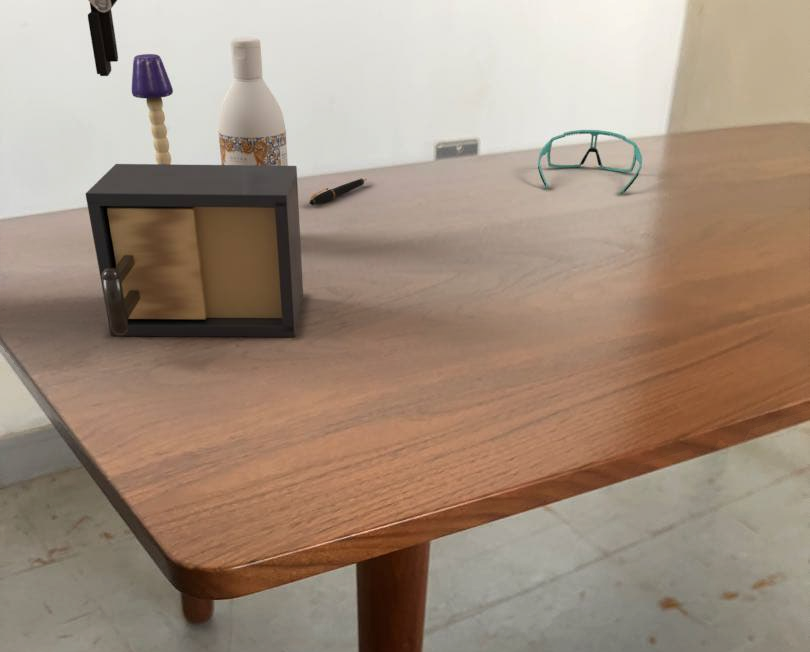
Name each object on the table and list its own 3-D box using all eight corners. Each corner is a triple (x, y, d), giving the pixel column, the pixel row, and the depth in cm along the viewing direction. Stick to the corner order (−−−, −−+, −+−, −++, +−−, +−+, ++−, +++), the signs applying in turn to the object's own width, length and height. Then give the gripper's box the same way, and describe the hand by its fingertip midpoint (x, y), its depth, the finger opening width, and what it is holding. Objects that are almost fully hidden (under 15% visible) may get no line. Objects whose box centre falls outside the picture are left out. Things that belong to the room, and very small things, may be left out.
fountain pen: (364, 183, 124) (364, 171, 123) (371, 184, 124) (371, 172, 123) (305, 208, 114) (304, 195, 113) (313, 209, 113) (313, 196, 112)
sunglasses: (640, 168, 132) (645, 132, 129) (636, 206, 121) (641, 168, 118) (542, 162, 135) (546, 126, 132) (530, 198, 124) (533, 160, 121)
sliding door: (106, 349, 74) (84, 231, 69) (127, 315, 80) (108, 205, 75) (192, 349, 74) (178, 232, 69) (207, 316, 80) (194, 206, 75)
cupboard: (110, 336, 80) (84, 193, 73) (136, 295, 88) (115, 163, 81) (294, 337, 80) (286, 195, 73) (303, 296, 88) (296, 165, 82)
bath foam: (217, 247, 100) (195, 40, 89) (248, 229, 106) (231, 33, 94) (273, 255, 99) (259, 45, 87) (302, 237, 104) (292, 36, 92)
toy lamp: (173, 213, 111) (153, 59, 101) (140, 209, 112) (118, 56, 103) (194, 203, 115) (177, 53, 105) (162, 199, 116) (142, 51, 106)
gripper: (125, -223, 61) (161, 65, 71) (-154, -232, 58) (-77, 67, 68) (114, -236, 55) (155, 81, 65) (-198, -247, 52) (-106, 84, 62)
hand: (36, 74), depth 66 cm, fingers open, 9 cm apart
